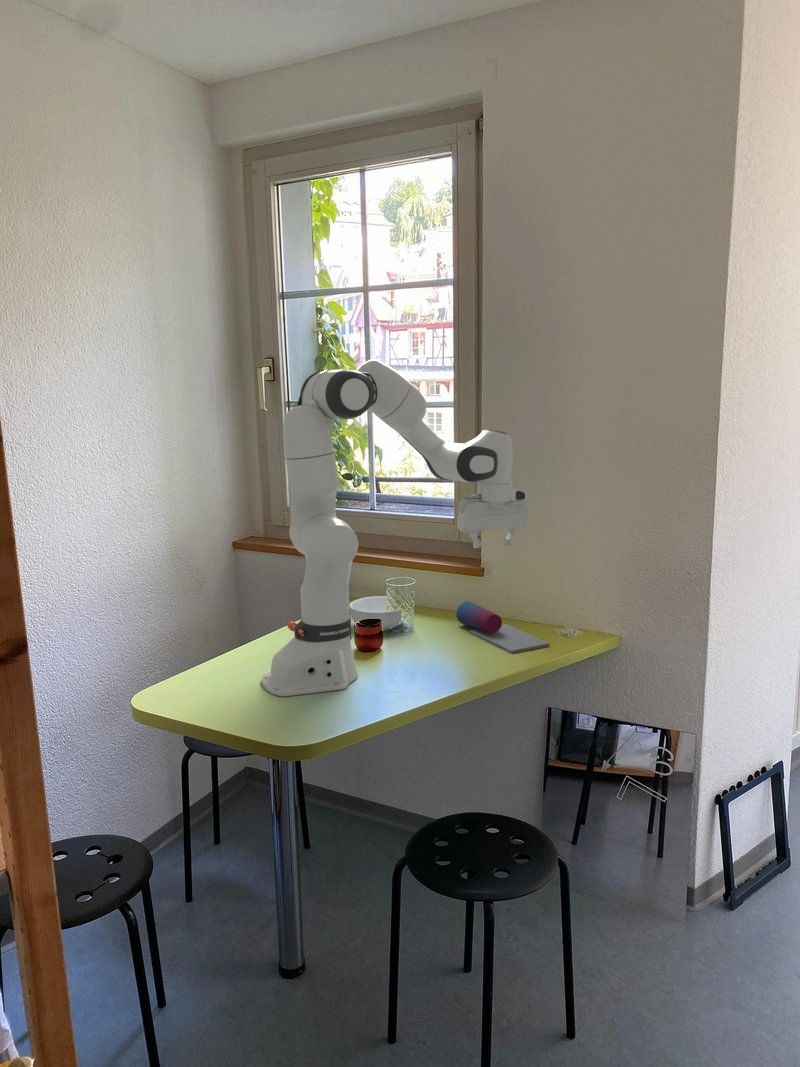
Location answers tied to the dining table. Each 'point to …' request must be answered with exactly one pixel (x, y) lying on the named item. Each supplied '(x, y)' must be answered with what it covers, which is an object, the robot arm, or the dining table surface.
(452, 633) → the dining table surface
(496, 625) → the cup
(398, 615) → the cereal bowl
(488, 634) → the mat
